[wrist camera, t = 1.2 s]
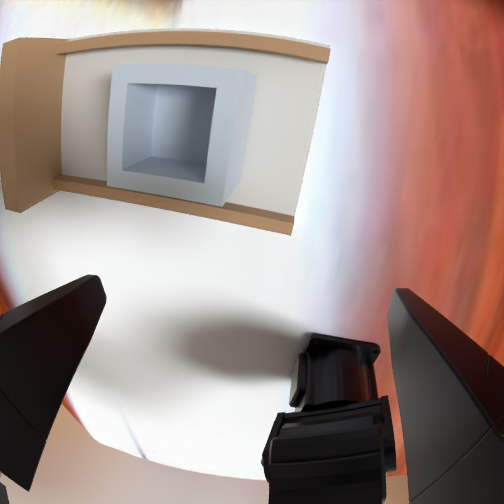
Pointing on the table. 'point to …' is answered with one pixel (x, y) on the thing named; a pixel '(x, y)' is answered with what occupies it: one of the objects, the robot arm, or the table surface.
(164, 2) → the table surface
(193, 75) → the block
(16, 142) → the tan wooden u-shaped frame
